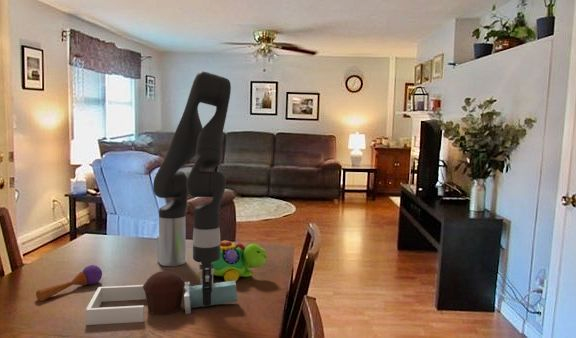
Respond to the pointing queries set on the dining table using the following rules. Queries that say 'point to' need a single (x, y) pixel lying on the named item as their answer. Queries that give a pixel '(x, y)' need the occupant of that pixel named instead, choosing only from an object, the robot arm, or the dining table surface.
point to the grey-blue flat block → (219, 294)
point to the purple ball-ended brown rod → (73, 282)
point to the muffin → (164, 292)
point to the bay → (115, 313)
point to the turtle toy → (237, 260)
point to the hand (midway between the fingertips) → (206, 301)
